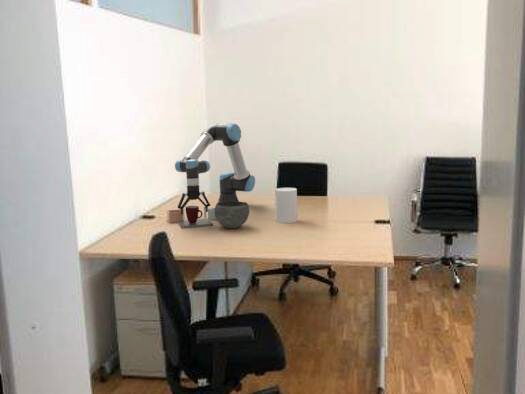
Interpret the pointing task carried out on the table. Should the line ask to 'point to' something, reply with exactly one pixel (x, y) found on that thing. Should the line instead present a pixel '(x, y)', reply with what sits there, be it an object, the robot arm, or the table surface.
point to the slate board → (198, 223)
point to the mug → (193, 213)
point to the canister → (286, 205)
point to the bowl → (231, 213)
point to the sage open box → (211, 214)
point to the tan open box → (174, 215)
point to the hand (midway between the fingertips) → (194, 218)
